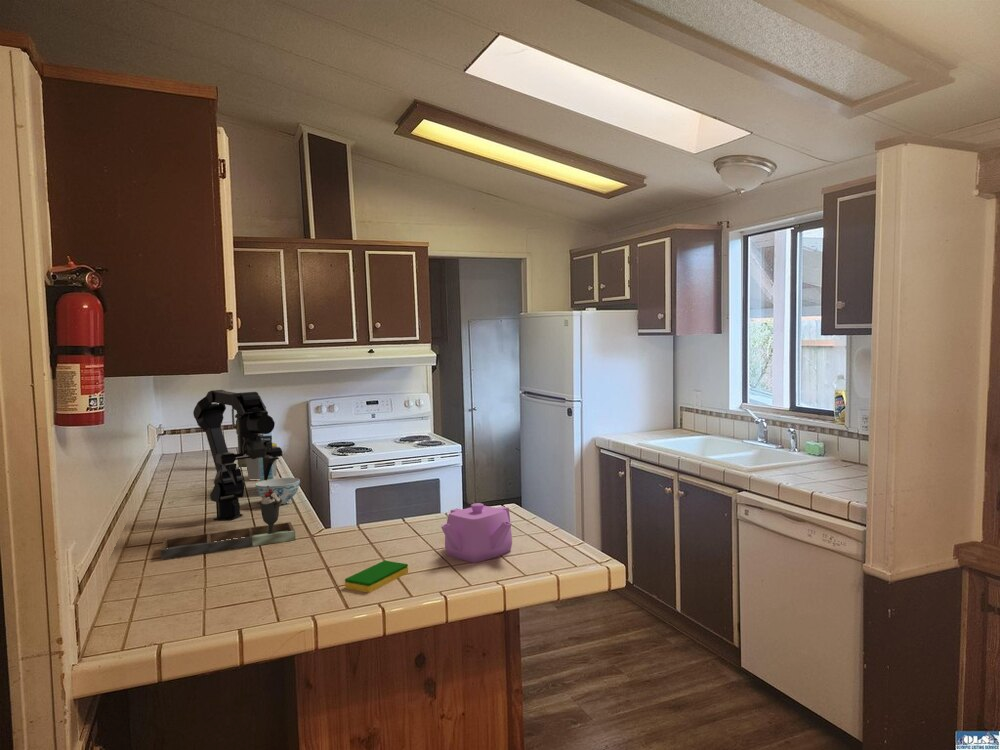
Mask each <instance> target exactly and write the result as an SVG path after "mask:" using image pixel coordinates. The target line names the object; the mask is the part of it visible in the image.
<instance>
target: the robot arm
mask: <svg viewBox="0 0 1000 750" xmlns="http://www.w3.org/2000/svg"><path fill="white" fill-rule="evenodd" d="M226 405H227V406H231V408H233V409H234V411H236V414H234V419H237V418H238V430H239V436H238V435H237V441H238V440H239V449H238V448H237V451H238V452H237V453H233V452H230V451H229V449H228V447H227V443H226V440H225V437H224V433H223V430H222V424H223V420H224V413H225V411H226V409H227V406H226ZM237 412H238V413H237ZM192 413H193V417H194V419H195V421H196V424H197V426H198V427H199V428H200V429H202V431H204V432H205V435H206V438H207V442H208V446H209V449H210V453H211V456H212V460H213V463H214V466H215V467H214V468H215V470H216V474H215V476H214V480H213V484H214V486H213V488H212V490H211V492H210V493H209V494H210V495H209V496H210V501H211V502H213V503H214V502H215V503H216V504H215V505H216V506H215V507H216V510H215V511H216V517H213V519H212V520H215V521H232V520H234V519H235V520H236V519H237V518H239V517H242V516H244V514H243V513H241V504H240V500H239V499H240V498H243V497H244V493H245V485H246V484H245V481H244V478H243V476H242V470H240V469H238V468H237V465H238V463H236V460H237V461H238V460H239V459H246V458H251V459H256V458H261V457H262V458H263V472H264V480H265V481H266V480H267V479H268V476H269V472H270V469H271V466H272V464H273V463H274V461H275V460H276V461H277V460H278V459H279V457H283V449H282V448H281V447H280V446H277V447H275V446H273V447H272V443H273V441H272V442H271V441H264V442H261V438H260V436H259V434H268V433H270V432H271V433H272V432H273V431H274V428H275V423H276V422H275V421H274V418H273V417H272V416H270V415H269V412H268V410H267V406H266V405H265V404H264V402H263V399H262V398H261V396H260V394H259V393H258V392H257V391H246V392H244V391H243V392H233V391H227V390H223V389H215V390H210V391H208V392H207V394H206V396H204V397H202V398H201V399H200V400H199V401H198V402H197V403H196V405H195V407H194V409H193V412H192ZM238 453H239V454H238ZM243 455H245V456H243Z"/></svg>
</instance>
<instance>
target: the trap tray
mask: <svg viewBox="0 0 1000 750" xmlns="http://www.w3.org/2000/svg"><path fill="white" fill-rule="evenodd" d="M273 530H274V532H275V533H274V534H268V532H269V525H268V524H266V525H258V526H252V527H245V528H236V529H230V530H221V531H215V532H207V533H201V534H194V535H193V534H191V535H185V536H178V537H170V538H164V539H163V542H162V545H161V549H160V556H161V558H160V560H161V559H164V560H169V559H168V558H171V559H176V558H175V557H177V558H182V557H181V556H184V557H189V555H191V556H196V555H195V554H198V555H203V553H204V554H210V552H211V553H216V551H218V552H223V551H222V550H225V551H229V550H228V549H231V550H235V549H234V548H238V549H242V547H245V548H251V547H250V546H252V547H259V546H263V545H270V544H271V545H272V544H279V543H285V542H292V541H296V530H295V529H294V526H293V524H292V522H291V521H290V522H288V521H287V522H281V523H274V525H273ZM241 537H245V538H241ZM233 538H238V539H233ZM226 539H231V540H226ZM221 540H224V541H221ZM214 541H217V542H214ZM167 548H168V549H167Z"/></svg>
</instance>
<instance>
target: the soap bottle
mask: <svg viewBox="0 0 1000 750" xmlns="http://www.w3.org/2000/svg"><path fill="white" fill-rule="evenodd" d="M272 446H275V447H278V446H277V443H275V442H274V443H273V442H272ZM246 461H247V470H246V471H247V476H248V478H249V479H260V463H259V458H256V459H251V458H246ZM273 473H274V476H276V477H277V460H275V461H274V463H273ZM249 479H248V480H249Z"/></svg>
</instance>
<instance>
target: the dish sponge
mask: <svg viewBox="0 0 1000 750" xmlns="http://www.w3.org/2000/svg"><path fill="white" fill-rule="evenodd" d="M408 565H409V564H408V563H403V562H396V561H391V560H382V561H380V562H378V563H376V564H374V565H372V566H369V567H368V568H366V569H363V570H361V571H359V572H357V573H355V574H353V575H351V576H348V577H346V578H344V588H345V589H347V590H352V591H358V592H365V593H367V594H368V593H373V592H374V591H375V590H378V589H380V588H382V587H383V586H385V585H387V584H389V583H392V582H393V581H395V580H397V579H399V578H401V577H402V576H405V575H406V574H409V566H408Z"/></svg>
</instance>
